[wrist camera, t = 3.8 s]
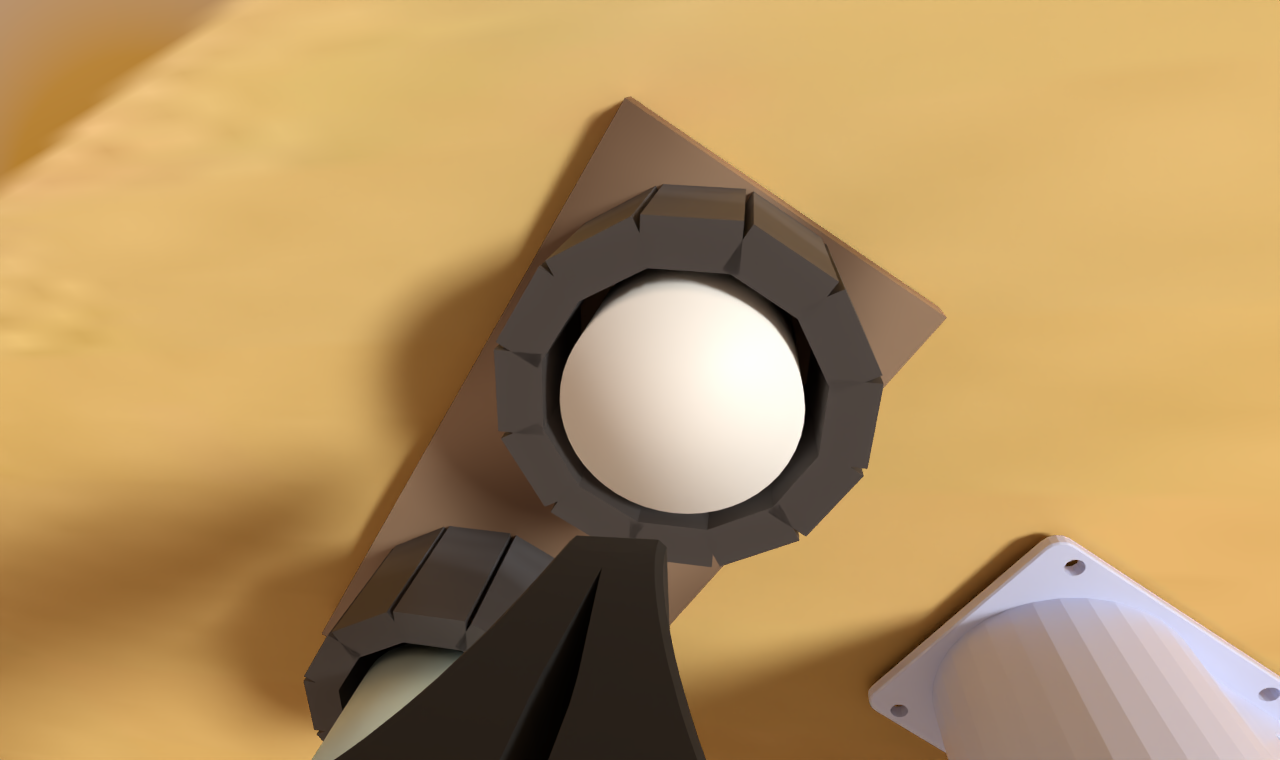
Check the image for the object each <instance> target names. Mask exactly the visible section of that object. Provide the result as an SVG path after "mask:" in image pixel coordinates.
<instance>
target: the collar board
mask: <svg viewBox="0 0 1280 760" xmlns="http://www.w3.org/2000/svg"><path fill="white" fill-rule="evenodd" d="M647 268H653V269H666V270H680V271H694V272H708V273H722V274H731V275H732V276H734V277H735V278H737V279H738V280H740V281H741V282H743V283H744V284H746V285H747V286H749V287H750V288H752V289H753V290H755V291H756V292H758V293H759V294H761V295H762V296H764V297H765V298H767V299H768V300H770V301H771V302H773V303H774V304H776V305H777V306H779V307H780V308H782V309H783V310H785V311H786V312H788V313H789V315H790V317H791V320H792V324H793V329H794V333H795V340H796V346H797V353H798V359H799V366H800V372H801V379H802V385H803V391H804V403H805V414H804V424H803V429H802V433H801V437H800V440H799V443H798V445H797V448H796V450H795V452H794V454H793V456H792V458H791V459H790V461H789V463H788V464H787V466H786V467H785V468H784V469H783V471H782V472H781V473H780V475H779V476H778V477H777V478H776V479H775V480H774V481H773V482H772V483H771V484H770V485H768V486H767V487H766V488H764V489H763V490H762V491H760V492H759V493H758V494H756V495H754V496H753V497H751V498H749V499H747V500H746V501H743V502H741V503H739V504H736V505H734V506H731V507H728V508H725V509H721V510H718V511H712V512H706V513H694V514H682V513H670V512H664V511H658V510H655V509H651V508H648V507H644V506H641V505H639V504H636V503H634V502H632V501H629V500H627V499H626V498H624V497H622V496H620V495H618V494H616V493H615V492H613V491H612V490H611V489H609V488H608V487H606V486H605V485H604V484H603V483H601V482H600V481H599V480H598V479H597V478H596V477H595V476H593V474H592V473H591V472H590V471H589V470H588V469H587V468H586V467H585V466H584V464H583V463H582V461H581V460H580V459H579V457H578V456H577V454H576V453H575V451H574V449H573V447H572V445H571V443H570V441H569V439H568V436H567V434H566V431H565V428H564V425H563V420H562V416H561V409H560V385H561V380H562V375H563V371H564V368H565V365H566V362H567V360H568V357H569V355H570V353H571V352H572V350H573V348H574V346H575V344H576V343H577V341H578V340H579V338H580V336H581V335H582V333H583V332H584V330H585V329H586V327H587V325H588V324H589V322H590V321H591V319H592V318H593V316H594V314H595V313H596V311H597V310H598V308H599V307H600V305H601V304H602V302H603V300H604V299H605V297H606V296H607V294H608V293H609V291H610V290H611V289H612V287H613V286H614V285H615V284H616V283H618V282H620V281H622V280H624V279H626V278H628V277H630V276H632V275H634V274H636V273H639V272H641V271H643V270H645V269H647ZM946 318H947V317H946V316H945V315H944V313H943V312H942V311H941V309H940V308H939V307H938V306H936V305H935V304H933V303H932V302H930V301H929V300H928V299H926V298H925V297H923V296H922V295H920V294H919V293H917V292H916V291H914V290H913V289H911V288H910V287H908V286H907V285H906V284H904V283H903V282H901V281H900V280H898V279H897V278H895V277H894V276H892V275H891V274H889V273H888V272H887V271H885V270H884V269H882V268H881V267H879V266H878V265H876V264H875V263H873V262H872V261H870V260H869V259H868V258H866V257H865V256H863V255H862V254H860V253H859V252H857V251H856V250H854V249H853V248H851V247H850V246H848V245H847V244H846V243H844V242H843V241H841V240H840V239H838V238H837V237H835V236H834V235H832V234H831V233H829V232H828V231H827V230H825V229H824V228H822V227H821V226H819V225H818V224H816V223H815V222H813V221H812V220H810V219H809V218H808V217H806V216H805V215H803V214H802V213H800V212H799V211H797V210H796V209H794V208H793V207H791V206H790V205H788V204H787V203H786V202H784V201H783V200H781V199H780V198H778V197H777V196H775V195H774V194H772V193H771V192H769V191H768V190H767V189H765V188H764V187H762V186H761V185H759V184H758V183H756V182H755V181H753V180H752V179H750V178H749V177H748V176H746V175H745V174H743V173H742V172H740V171H739V170H737V169H736V168H734V167H733V166H731V165H730V164H728V163H727V162H726V161H724V160H723V159H721V158H720V157H718V156H717V155H715V154H714V153H712V152H711V151H709V150H708V149H707V148H705V147H704V146H702V145H701V144H699V143H698V142H696V141H695V140H693V139H692V138H690V137H689V136H688V135H686V134H685V133H683V132H682V131H680V130H679V129H677V128H676V127H674V126H673V125H671V124H670V123H668V122H667V121H666V120H664V119H663V118H661V117H660V116H658V115H657V114H655V113H654V112H652V111H651V110H649V109H648V108H647V107H645V106H644V105H642V104H641V103H639V102H638V101H636V100H635V99H633V98H632V97H627V98H625V99H624V100H623V102H622V104H621V106H620V108H619V109H618V111H617V113H616V115H615V116H614V118H613V120H612V122H611V123H610V125H609V127H608V129H607V131H606V132H605V134H604V136H603V138H602V139H601V141H600V143H599V145H598V146H597V148H596V150H595V152H594V153H593V155H592V157H591V159H590V161H589V162H588V164H587V166H586V168H585V169H584V171H583V173H582V175H581V176H580V178H579V180H578V182H577V184H576V185H575V187H574V189H573V191H572V192H571V194H570V196H569V198H568V199H567V201H566V203H565V205H564V206H563V208H562V210H561V212H560V214H559V215H558V217H557V219H556V221H555V222H554V224H553V226H552V228H551V229H550V231H549V233H548V235H547V237H546V238H545V240H544V242H543V244H542V245H541V247H540V249H539V251H538V252H537V254H536V256H535V258H534V260H533V261H532V263H531V265H530V267H529V268H528V270H527V272H526V274H525V275H524V277H523V279H522V281H521V282H520V284H519V286H518V288H517V290H516V291H515V293H514V295H513V297H512V298H511V300H510V302H509V304H508V305H507V307H506V309H505V311H504V313H503V314H502V316H501V318H500V320H499V321H498V323H497V325H496V327H495V328H494V330H493V332H492V334H491V335H490V337H489V339H488V341H487V343H486V344H485V346H484V348H483V350H482V351H481V353H480V355H479V357H478V358H477V360H476V362H475V364H474V366H473V367H472V369H471V371H470V373H469V374H468V376H467V378H466V380H465V381H464V383H463V385H462V387H461V389H460V390H459V392H458V394H457V396H456V397H455V399H454V401H453V403H452V404H451V406H450V408H449V410H448V411H447V413H446V415H445V417H444V419H443V420H442V422H441V424H440V426H439V427H438V429H437V431H436V433H435V434H434V436H433V438H432V440H431V442H430V443H429V445H428V447H427V449H426V450H425V452H424V454H423V456H422V457H421V459H420V461H419V463H418V464H417V466H416V468H415V470H414V472H413V473H412V475H411V477H410V479H409V480H408V482H407V484H406V486H405V487H404V489H403V491H402V493H401V495H400V496H399V498H398V500H397V502H396V503H395V505H394V507H393V509H392V510H391V512H390V514H389V516H388V518H387V519H386V521H385V523H384V525H383V526H382V528H381V530H380V532H379V533H378V535H377V537H376V539H375V540H374V542H373V544H372V546H371V548H370V549H369V551H368V553H367V555H366V556H365V558H364V560H363V562H362V563H361V565H360V567H359V569H358V571H357V572H356V574H355V576H354V578H353V579H352V581H351V583H350V585H349V586H348V588H347V590H346V592H345V594H344V595H343V597H342V599H341V601H340V602H339V604H338V606H337V608H336V609H335V611H334V613H333V615H332V616H331V618H330V620H329V622H328V624H327V625H326V627H325V629H324V631H323V632H322V634H323V635H325V636H326V639H325V641H324V642H323V644H322V646H321V648H320V649H319V651H318V653H317V655H316V656H315V658H314V660H313V662H312V663H311V665H310V667H309V669H308V670H307V672H306V674H305V676H304V677H306V678H305V680H304V685H305V690H306V694H307V699H308V703H309V708H310V712H311V717H312V722H313V726H314V730H319V731H318V733H317V735H318V736H319V737H320V738H321V740H322V741H324V739H325V738H326V736H327V735H328V733H329V732H330V730H331V728H332V727H333V725H334V724H335V722H336V721H337V719H338V717H339V716H340V714H341V713H342V711H343V710H344V708H345V706H346V705H347V703H348V702H349V700H350V699H351V697H352V695H353V694H354V692H355V691H356V689H357V688H358V686H359V685H360V683H361V681H362V680H363V678H364V677H365V675H366V674H367V672H368V670H369V669H370V667H371V666H372V665H373V663H374V662H375V661H376V660H377V659H378V658H379V657H380V656H382V655H383V654H385V653H386V652H388V651H390V650H392V649H394V648H397V647H400V646H404V645H407V644H419V645H426V646H433V647H440V648H447V649H454V650H461V651H463V652H465V651H467V650H468V649H469V648H470V647H471V646H472V645H473V644H474V643H475V642H476V641H477V640H478V639H479V638H480V637H481V636H482V635H483V634H484V633H485V632H486V631H487V630H488V629H489V628H490V627H491V626H492V625H493V624H494V623H495V622H496V621H497V620H498V619H499V618H500V617H501V616H502V615H503V614H504V613H505V612H506V611H507V610H508V609H509V608H510V606H511V605H512V604H513V603H514V602H515V601H516V600H517V599H518V598H519V597H520V596H521V595H522V594H523V593H524V592H525V591H526V590H527V588H528V587H529V586H530V585H531V584H532V583H533V582H534V581H535V580H536V579H537V577H538V576H539V575H540V574H541V573H542V572H543V571H544V570H545V568H546V567H547V566H548V565H549V564H550V563H551V562H552V561H553V559H554V558H555V557H556V556H557V555H558V554H559V553H560V551H561V550H562V549H563V548H564V547H565V546H566V545H567V544H568V542H569V541H570V540H572V539H573V538H574V537H575V536H576V535H579V536H598V537H617V538H637V539H656V540H660V541H661V542H662V543H663V544H664V545H665V546H666V547H667V569H668V598H669V625H670V624H671V623H672V622H673V621H674V620H675V619H676V618H677V617H678V615H679V614H680V613H681V612H682V611H683V610H684V609H685V608H686V607H687V605H688V604H689V603H690V602H691V601H692V600H693V599H694V598H695V597H696V595H697V594H698V593H699V592H700V591H701V590H702V589H703V588H704V587H705V585H706V584H707V583H708V582H709V581H710V580H711V579H712V578H713V577H714V575H715V574H716V573H717V572H718V571H719V570H720V569H721V568H722V567H723V565H726V564H729V563H732V562H735V561H738V560H741V559H745V558H748V557H751V556H754V555H757V554H760V553H763V552H766V551H769V550H772V549H775V548H778V547H781V546H784V545H787V544H790V543H793V542H797V541H799V534H798V532H800V533H801V534H803V535H805V536H807V535H808V534H809V533H810V532H811V531H812V530H813V529H814V528H815V526H816V525H817V524H818V523H819V522H820V521H821V520H822V519H823V518H824V517H825V516H826V515H827V514H828V513H829V512H830V511H831V510H832V509H833V508H834V507H835V505H836V504H837V503H838V502H839V501H840V500H841V499H842V498H843V497H844V496H845V495H846V494H847V493H848V492H849V491H850V490H851V489H852V488H853V487H854V486H855V484H856V483H857V482H858V481H859V480H860V479H861V478H862V477H863V472H862V468H865V469H867V468H868V463H869V458H870V453H871V447H872V442H873V437H874V432H875V427H876V421H877V416H878V411H879V406H880V401H881V395H882V390H883V388H884V387H885V386H886V385H887V383H888V382H889V381H890V380H891V379H892V378H893V377H894V376H895V375H896V373H897V372H898V371H899V370H900V369H901V368H902V367H903V366H904V365H905V363H906V362H907V361H908V360H909V359H910V358H911V357H912V356H913V355H914V353H915V352H916V351H917V350H918V349H919V348H920V347H921V346H922V345H923V343H924V342H925V341H926V340H927V339H928V338H929V337H930V336H931V335H932V333H933V332H934V331H935V330H936V329H937V328H938V327H939V326H940V325H941V323H942V322H943V321H944V320H945V319H946Z"/></svg>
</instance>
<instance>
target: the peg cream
mask: <svg viewBox="0 0 1280 760" xmlns="http://www.w3.org/2000/svg"><path fill="white" fill-rule="evenodd" d="M560 409H561V416H562V420H563V425H564V428H565V431H566V434H567V436H568V439H569V441H570V443H571V445H572V447H573V449H574V451H575V453H576V454H577V456H578V457H579V459H580V460H581V461H582V463H583V464H584V466H585V467H586V468H587V469H588V470H589V471H590V472H591V473H592V474H593V476H595V477H596V478H597V479H598V480H599V481H600V482H601V483H603V484H604V485H605V486H606V487H608V488H609V489H611V490H612V491H613V492H615V493H616V494H618V495H620V496H622V497H624V498H626V499H627V500H629V501H632V502H634V503H636V504H639V505H641V506H644V507H648V508H651V509H655V510H658V511H664V512H670V513H682V514H694V513H706V512H712V511H718V510H721V509H725V508H728V507H731V506H734V505H736V504H739V503H741V502H743V501H746V500H747V499H749V498H751V497H753V496H754V495H756V494H758V493H759V492H760V491H762V490H763V489H764V488H766V487H767V486H768V485H770V484H771V483H772V482H773V481H774V480H775V479H776V478H777V477H778V476H779V475H780V473H781V472H782V471H783V469H784V468H785V467H786V466H787V464H788V463H789V461H790V459H791V458H792V456H793V454H794V452H795V450H796V448H797V445H798V443H799V440H800V437H801V433H802V429H803V424H804V414H805V403H804V391H803V385H802V379H801V372H800V366H799V359H798V353H797V346H796V340H795V333H794V329H793V324H792V320H791V317H790V315H789V313H788V312H786V311H785V310H783V309H782V308H780V307H779V306H777V305H776V304H774V303H773V302H771V301H770V300H768V299H767V298H765V297H764V296H762V295H761V294H759V293H758V292H756V291H755V290H753V289H752V288H750V287H749V286H747V285H746V284H744V283H743V282H741V281H740V280H738V279H737V278H735V277H734V276H732V275H731V274H722V273H708V272H694V271H680V270H666V269H653V268H647V269H645V270H643V271H641V272H639V273H636V274H634V275H632V276H630V277H628V278H626V279H624V280H622V281H620V282H618V283H616V284H615V285H614V286H613V287H612V289H611V290H610V291H609V293H608V294H607V296H606V297H605V299H604V300H603V302H602V304H601V305H600V307H599V308H598V310H597V311H596V313H595V314H594V316H593V318H592V319H591V321H590V322H589V324H588V325H587V327H586V329H585V330H584V332H583V333H582V335H581V336H580V338H579V340H578V341H577V343H576V344H575V346H574V348H573V350H572V352H571V353H570V355H569V357H568V360H567V362H566V365H565V368H564V371H563V375H562V380H561V385H560Z"/></svg>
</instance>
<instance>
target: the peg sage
mask: <svg viewBox="0 0 1280 760" xmlns="http://www.w3.org/2000/svg"><path fill="white" fill-rule="evenodd" d="M463 653H464V652H463V651H461V650H454V649H447V648H440V647H433V646H426V645H419V644H407V645H404V646H400V647H397V648H394V649H392V650H390V651H388V652H386V653H385V654H383V655H382V656H380V657H379V658H378V659H377V660H376V661H375V662H374V663H373V665H372V666H371V667H370V669H369V670H368V672H367V674H366V675H365V677H364V678H363V680H362V681H361V683H360V685H359V686H358V688H357V689H356V691H355V692H354V694H353V695H352V697H351V699H350V700H349V702H348V703H347V705H346V706H345V708H344V710H343V711H342V713H341V714H340V716H339V717H338V719H337V721H336V722H335V724H334V725H333V727H332V728H331V730H330V732H329V733H328V735H327V736H326V738H325V739H324V741H323V743H322V744H321V746H320V747H319V749H318V750H317V752H316V754H315V755H314V757H313V758H312V760H334V759H336V758H337V757H339V756H340V755H342V754H343V753H344V752H346V751H347V750H349V749H350V748H352V747H353V746H354V745H356V744H357V743H358V742H360V741H361V740H362V739H364V738H365V737H366V736H368V735H369V734H370V733H372V732H373V731H374V730H375V729H377V728H378V727H379V726H380V725H382V724H383V723H384V722H385V721H387V720H388V719H389V718H390V717H392V716H393V715H394V714H395V713H397V712H398V711H399V710H400V709H402V708H403V707H404V706H405V705H406V704H408V703H409V702H410V701H411V700H412V699H414V698H415V697H416V696H417V695H418V694H419V693H421V692H422V691H423V690H424V689H425V688H426V687H427V686H429V685H430V684H431V683H432V682H433V681H434V680H435V679H437V678H438V677H439V676H440V675H441V674H442V673H443V672H444V671H445V670H446V669H447V668H448V667H449V666H451V665H452V664H453V663H454V662H455V661H456V660H457V659H458V658H459V657H460V656H461V655H462V654H463Z"/></svg>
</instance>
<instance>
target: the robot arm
mask: <svg viewBox="0 0 1280 760" xmlns="http://www.w3.org/2000/svg"><path fill="white" fill-rule="evenodd" d="M1071 560H1079V561H1078V562H1077V563H1076V564H1074V565H1072V566H1065V565H1066V564H1067V562H1069V561H1071ZM868 698H869V703H870V705H871V707H872V708H873V709H874V710H875V711H877V712H879V713H880V714H882V715H884V716H885V717H887V718H889V719H890V720H892V721H894V722H895V723H897V724H898V725H900V726H902V727H903V728H905V729H907V730H908V731H910V732H912V733H913V734H915V735H917V736H918V737H920V738H922V739H923V740H925V741H927V742H928V743H930V744H932V745H933V746H935V747H937V748H938V749H940V750H942V751H943V752H945V753H946V754H947V758H948V760H1280V676H1278V675H1277V674H1275V673H1274V672H1272V671H1271V670H1269V669H1268V668H1266V667H1265V666H1263V665H1262V664H1260V663H1259V662H1257V661H1256V660H1254V659H1253V658H1251V657H1249V656H1248V655H1246V654H1245V653H1243V652H1242V651H1240V650H1239V649H1237V648H1236V647H1234V646H1233V645H1231V644H1230V643H1228V642H1227V641H1225V640H1224V639H1222V638H1221V637H1219V636H1217V635H1216V634H1214V633H1213V632H1211V631H1210V630H1208V629H1207V628H1205V627H1204V626H1202V625H1201V624H1199V623H1198V622H1196V621H1195V620H1193V619H1192V618H1190V617H1189V616H1187V615H1186V614H1184V613H1182V612H1181V611H1179V610H1178V609H1176V608H1175V607H1173V606H1172V605H1170V604H1169V603H1167V602H1166V601H1164V600H1163V599H1161V598H1160V597H1158V596H1157V595H1155V594H1154V593H1152V592H1150V591H1149V590H1147V589H1146V588H1144V587H1143V586H1141V585H1140V584H1138V583H1137V582H1135V581H1134V580H1132V579H1131V578H1129V577H1128V576H1126V575H1125V574H1123V573H1122V572H1120V571H1119V570H1117V569H1115V568H1114V567H1112V566H1111V565H1109V564H1108V563H1106V562H1105V561H1103V560H1102V559H1100V558H1099V557H1097V556H1096V555H1094V554H1093V553H1091V552H1090V551H1088V550H1087V549H1085V548H1084V547H1082V546H1080V545H1079V544H1077V543H1076V542H1074V541H1073V540H1071V539H1070V538H1067V537H1065V536H1060V535H1054V536H1050V537H1047V538H1045V539H1044V540H1042V541H1040V542H1039V543H1038V544H1037V545H1036V546H1035V547H1033V548H1032V549H1031V550H1030V551H1029V552H1028V553H1026V554H1025V555H1024V556H1023V557H1022V558H1021V559H1019V560H1018V561H1017V562H1016V563H1015V564H1014V565H1012V566H1011V567H1010V568H1009V569H1008V570H1007V571H1005V572H1004V573H1003V574H1002V575H1001V576H1000V577H998V578H997V579H996V580H995V581H994V582H993V583H991V584H990V585H989V586H988V587H987V588H986V589H984V590H983V591H982V592H981V593H980V594H979V595H977V596H976V597H975V598H974V599H973V600H972V601H970V602H969V603H968V604H967V605H966V606H965V607H963V608H962V609H961V610H960V611H959V612H958V613H956V614H955V615H954V616H953V617H952V618H951V619H949V620H948V621H947V622H946V623H945V624H944V625H942V626H941V627H940V628H939V629H938V630H937V631H935V632H934V633H933V634H932V635H931V636H930V637H928V638H927V639H926V640H925V641H924V642H923V643H921V644H920V645H919V646H918V647H917V648H916V649H914V650H913V651H912V652H911V653H910V654H909V655H907V656H906V657H905V658H904V659H903V660H902V661H900V662H899V663H898V664H897V665H896V666H895V667H893V668H892V669H891V670H890V671H889V672H888V673H886V674H885V675H884V676H883V677H882V678H881V679H879V680H878V681H877V682H876V683H875V684H874V685H872V686H871V688H870V689H869V691H868ZM895 705H902V706H897V707H895ZM334 760H706V758H705V756H704V753H703V750H702V747H701V744H700V742H699V739H698V736H697V733H696V729H695V726H694V723H693V720H692V717H691V714H690V710H689V707H688V704H687V700H686V697H685V693H684V690H683V686H682V682H681V679H680V675H679V671H678V667H677V663H676V659H675V655H674V650H673V645H672V640H671V635H670V626H669V598H668V569H667V547H666V546H665V545H664V544H663V543H662V542H661V541H660V540H656V539H637V538H617V537H598V536H579V535H576V536H575V537H574V538H573V539H572V540H570V541H569V542H568V544H567V545H566V546H565V547H564V548H563V549H562V550H561V551H560V553H559V554H558V555H557V556H556V557H555V558H554V559H553V561H552V562H551V563H550V564H549V565H548V566H547V567H546V568H545V570H544V571H543V572H542V573H541V574H540V575H539V576H538V577H537V579H536V580H535V581H534V582H533V583H532V584H531V585H530V586H529V587H528V588H527V590H526V591H525V592H524V593H523V594H522V595H521V596H520V597H519V598H518V599H517V600H516V601H515V602H514V603H513V604H512V605H511V606H510V608H509V609H508V610H507V611H506V612H505V613H504V614H503V615H502V616H501V617H500V618H499V619H498V620H497V621H496V622H495V623H494V624H493V625H492V626H491V627H490V628H489V629H488V630H487V631H486V632H485V633H484V634H483V635H482V636H481V637H480V638H479V639H478V640H477V641H476V642H475V643H474V644H473V645H472V646H471V647H470V648H469V649H468V650H467V651H465V652H464V653H463V654H462V655H461V656H460V657H459V658H458V659H457V660H456V661H455V662H454V663H453V664H452V665H451V666H449V667H448V668H447V669H446V670H445V671H444V672H443V673H442V674H441V675H440V676H439V677H438V678H437V679H435V680H434V681H433V682H432V683H431V684H430V685H429V686H427V687H426V688H425V689H424V690H423V691H422V692H421V693H419V694H418V695H417V696H416V697H415V698H414V699H412V700H411V701H410V702H409V703H408V704H406V705H405V706H404V707H403V708H402V709H400V710H399V711H398V712H397V713H395V714H394V715H393V716H392V717H390V718H389V719H388V720H387V721H385V722H384V723H383V724H382V725H380V726H379V727H378V728H377V729H375V730H374V731H373V732H372V733H370V734H369V735H368V736H366V737H365V738H364V739H362V740H361V741H360V742H358V743H357V744H356V745H354V746H353V747H352V748H350V749H349V750H347V751H346V752H344V753H343V754H342V755H340V756H339V757H337V758H336V759H334Z"/></svg>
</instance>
